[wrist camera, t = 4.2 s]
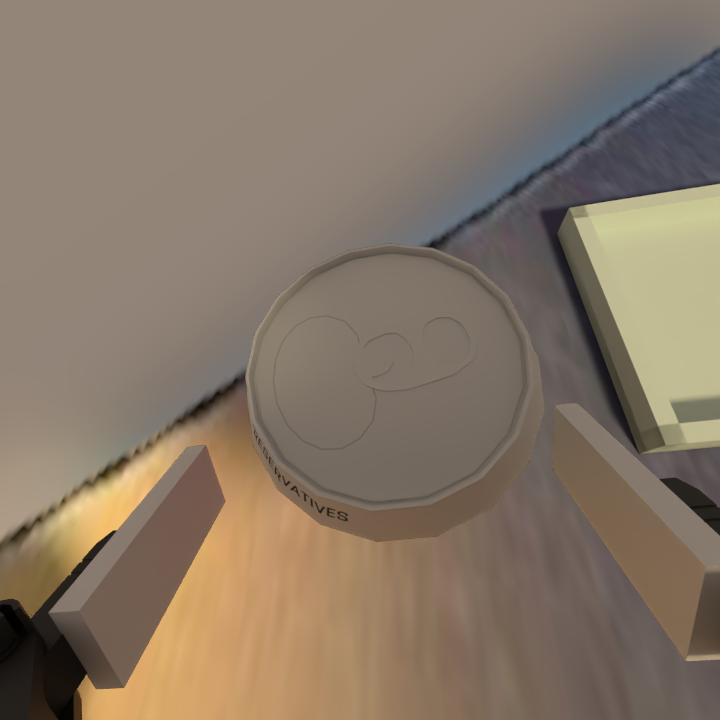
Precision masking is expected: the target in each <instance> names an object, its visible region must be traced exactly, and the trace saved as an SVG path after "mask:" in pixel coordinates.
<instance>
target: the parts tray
mask: <svg viewBox="0 0 720 720" xmlns="http://www.w3.org/2000/svg"><path fill="white" fill-rule="evenodd" d="M557 235H558V238H559V241H560V243H561V246H562V249H563V251H564V254H565V257H566V259H567V262H568V265H569V267H570V270H571V273H572V275H573V278H574V281H575V283H576V286H577V289H578V291H579V294H580V297H581V299H582V302H583V305H584V307H585V310H586V313H587V315H588V318H589V321H590V323H591V326H592V329H593V331H594V334H595V337H596V339H597V342H598V345H599V347H600V350H601V353H602V355H603V358H604V361H605V363H606V366H607V369H608V371H609V374H610V377H611V379H612V382H613V385H614V387H615V390H616V393H617V395H618V398H619V401H620V403H621V406H622V409H623V411H624V414H625V417H626V419H627V422H628V425H629V427H630V430H631V433H632V435H633V438H634V441H635V443H636V446H637V449H638V451H639V454H644V453H655V452H666V451H677V450H688V449H699V448H710V447H720V184H716V185H709V186H703V187H697V188H690V189H684V190H678V191H671V192H665V193H659V194H652V195H646V196H640V197H634V198H627V199H621V200H615V201H608V202H602V203H596V204H589V205H583V206H577V207H571V208H569V209H568V211H567V213H566V215H565V218H564V220H563V222H562V224H561V226H560V228H559V230H558V233H557Z"/></svg>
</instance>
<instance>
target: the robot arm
mask: <svg viewBox="0 0 720 720" xmlns="http://www.w3.org/2000/svg"><path fill="white" fill-rule="evenodd" d="M553 471H554V472H555V473H556V475H557V476H558V478H559V479H560V481H561V482H562V483H563V485H564V486H565V488H566V489H567V491H568V492H569V494H570V495H571V496H572V498H573V499H574V501H575V502H576V504H577V505H578V506H579V508H580V509H581V511H582V512H583V514H584V515H585V517H586V518H587V519H588V521H589V522H590V524H591V525H592V527H593V528H594V530H595V531H596V532H597V534H598V535H599V537H600V538H601V540H602V541H603V542H604V544H605V545H606V547H607V548H608V550H609V551H610V553H611V554H612V555H613V557H614V558H615V560H616V561H617V563H618V564H619V565H620V567H621V568H622V570H623V571H624V573H625V574H626V576H627V577H628V578H629V580H630V581H631V583H632V584H633V586H634V587H635V588H636V590H637V591H638V593H639V594H640V596H641V597H642V599H643V600H644V601H645V603H646V604H647V606H648V607H649V609H650V610H651V612H652V613H653V614H654V616H655V617H656V619H657V620H658V622H659V623H660V624H661V626H662V627H663V629H664V630H665V632H666V633H667V635H668V636H669V637H670V639H671V640H672V642H673V643H674V645H675V646H676V647H677V649H678V650H679V652H680V653H681V655H682V656H683V658H684V659H685V660H686V661H697V660H718V659H720V508H718V507H717V506H716V504H715V503H714V502H713V501H712V500H710V499H709V498H708V497H707V496H706V495H704V494H703V493H702V492H701V491H700V490H699V489H697V488H695V487H693V486H691V485H689V484H687V483H685V482H683V481H681V480H679V479H677V478H666V479H658V478H657V477H656V476H655V475H654V474H653V473H652V472H651V471H649V470H648V469H647V468H646V467H645V466H644V465H643V464H642V463H641V462H640V461H639V460H638V459H637V458H635V457H634V456H633V455H632V454H631V453H630V452H629V451H628V450H627V449H626V448H625V447H624V446H623V445H622V444H620V443H619V442H618V441H617V440H616V439H615V438H614V437H613V436H612V435H611V434H610V433H609V432H608V431H606V430H605V429H604V428H603V427H602V426H601V425H600V424H599V423H598V422H597V421H596V420H595V419H594V418H592V417H591V416H590V415H589V414H588V413H587V412H586V411H585V410H584V409H583V408H582V407H581V406H580V405H578V404H577V403H571V404H562V405H554V436H553ZM224 503H225V499H224V496H223V493H222V490H221V487H220V484H219V482H218V479H217V476H216V473H215V470H214V467H213V464H212V461H211V459H210V456H209V453H208V450H207V447H206V445H201V446H192V447H187V448H186V449H185V450H184V452H183V453H182V454H181V455H180V456H179V458H178V459H177V460H176V461H175V462H174V463H173V465H172V466H171V467H170V468H169V469H168V471H167V472H166V473H165V474H164V475H163V477H162V478H161V479H160V480H159V481H158V483H157V484H156V485H155V486H154V487H153V489H152V490H151V491H150V492H149V493H148V494H147V496H146V497H145V498H144V499H143V500H142V502H141V503H140V504H139V505H138V506H137V508H136V509H135V510H134V511H133V512H132V514H131V515H130V516H129V517H128V518H127V520H126V521H125V522H124V523H123V524H122V525H121V527H120V528H119V529H118V530H116V531H112V532H111V533H109V534H108V535H107V536H106V537H104V538H103V539H102V540H101V541H99V542H98V543H97V544H95V546H94V547H93V548H92V549H91V550H90V551H89V552H88V554H87V555H86V556H85V557H84V558H83V559H82V562H81V563H79V564H78V565H77V566H76V567H75V569H74V570H73V571H72V572H71V575H68V577H67V578H66V579H65V580H64V581H63V582H62V584H61V585H60V586H59V587H58V588H57V589H56V590H55V592H54V593H53V594H52V595H51V596H50V597H49V598H48V600H47V601H46V602H45V603H44V604H43V605H42V607H41V608H40V609H39V610H38V611H37V612H36V613H35V615H34V616H33V617H32V618H31V619H30V618H29V616H28V614H27V613H26V611H25V610H24V608H23V607H22V605H21V604H20V602H19V601H17V600H14V599H8V600H2V601H0V720H82V703H81V697H80V694H79V692H78V691H77V688H78V687H79V685H80V683H81V682H82V680H83V679H84V677H85V676H86V674H87V676H88V677H89V679H90V680H91V682H92V684H93V685H94V687H95V688H96V689H110V688H124V687H125V685H126V683H127V682H128V680H129V678H130V676H131V674H132V672H133V671H134V669H135V667H136V665H137V663H138V661H139V660H140V658H141V656H142V654H143V652H144V650H145V648H146V647H147V645H148V643H149V641H150V639H151V637H152V636H153V634H154V632H155V630H156V628H157V626H158V625H159V623H160V621H161V619H162V617H163V615H164V613H165V612H166V610H167V608H168V606H169V604H170V602H171V601H172V599H173V597H174V595H175V593H176V591H177V590H178V588H179V586H180V584H181V582H182V580H183V578H184V577H185V575H186V573H187V571H188V569H189V567H190V566H191V564H192V562H193V560H194V558H195V556H196V554H197V553H198V551H199V549H200V547H201V545H202V543H203V542H204V540H205V538H206V536H207V534H208V532H209V531H210V529H211V527H212V525H213V523H214V521H215V519H216V518H217V516H218V514H219V512H220V510H221V508H222V507H223V505H224Z"/></svg>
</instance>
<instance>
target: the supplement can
mask: <svg viewBox="0 0 720 720" xmlns="http://www.w3.org/2000/svg"><path fill="white" fill-rule="evenodd" d="M245 379H246V386H247V404H248V412H249V419H250V426H251V433H252V441H253V446H254V448H255V450H256V451H257V453H258V455H259V457H260V459H261V460H262V462H263V464H264V466H265V468H266V469H267V471H268V473H269V475H270V477H271V478H272V480H273V482H274V484H275V486H276V487H277V489H278V490H279V491H280V492H281V493H282V494H284V495H285V496H286V497H287V498H288V499H290V500H291V501H292V502H293V503H295V504H296V505H297V506H298V507H300V508H301V509H302V510H303V511H304V512H306V513H307V514H308V515H309V516H311V517H312V518H313V519H314V520H316V521H317V522H318V523H319V524H321V525H324V526H327V527H330V528H333V529H337V530H340V531H343V532H346V533H350V534H353V535H356V536H360V537H363V538H366V539H369V540H373V541H376V542H380V541H391V540H402V539H413V538H424V537H435V536H439V535H441V534H443V533H445V532H447V531H449V530H450V529H452V528H454V527H456V526H458V525H460V524H462V523H464V522H466V521H468V520H470V519H472V518H474V517H475V516H477V515H479V514H481V513H483V512H485V511H487V510H489V509H491V508H492V507H493V506H494V504H495V503H496V502H497V501H498V500H499V498H500V497H501V496H502V495H503V494H504V492H505V491H506V490H507V489H508V488H509V486H510V485H511V484H512V483H513V482H514V480H515V479H516V478H517V477H518V476H519V474H520V473H521V472H522V471H523V469H524V468H525V467H526V466H527V465H528V463H529V461H530V457H531V454H532V450H533V447H534V444H535V440H536V437H537V434H538V430H539V427H540V424H541V420H542V417H543V414H544V402H543V393H542V384H541V375H540V366H539V359H538V357H537V355H536V353H535V351H534V349H533V347H532V345H531V343H530V336H529V334H528V332H527V330H526V328H525V327H524V325H523V323H522V321H521V319H520V317H519V315H518V313H517V312H516V310H515V308H514V306H513V304H512V302H511V300H510V298H509V296H508V295H507V294H506V293H505V292H503V291H502V290H501V289H500V288H499V287H498V286H497V285H496V284H494V283H493V282H492V281H491V280H490V279H489V278H488V277H487V276H485V275H484V274H483V273H482V272H481V271H480V270H479V269H478V268H476V267H475V266H474V265H472V264H469V263H467V262H465V261H462V260H460V259H458V258H455V257H453V256H451V255H448V254H446V253H444V252H441V251H439V250H437V249H434V248H427V247H418V246H409V245H400V244H391V243H390V244H384V245H378V246H372V247H366V248H360V249H354V250H348V251H346V252H344V253H341V254H340V255H337V256H335V257H333V258H331V259H329V260H327V261H324V262H322V263H320V264H318V265H316V266H314V267H312V268H309V269H308V270H307V271H306V272H305V273H304V274H303V275H302V276H300V277H299V278H298V279H297V280H296V281H295V282H293V283H292V284H291V285H290V286H289V287H288V288H287V289H286V290H284V291H283V292H282V293H281V294H280V295H279V296H278V297H277V298H276V300H275V301H274V303H273V304H272V306H271V308H270V309H269V311H268V313H267V314H266V316H265V317H264V319H263V321H262V322H261V324H260V326H259V327H258V329H257V331H256V332H255V334H254V339H253V343H252V348H251V353H250V357H249V361H248V366H247V370H246V375H245Z"/></svg>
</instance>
